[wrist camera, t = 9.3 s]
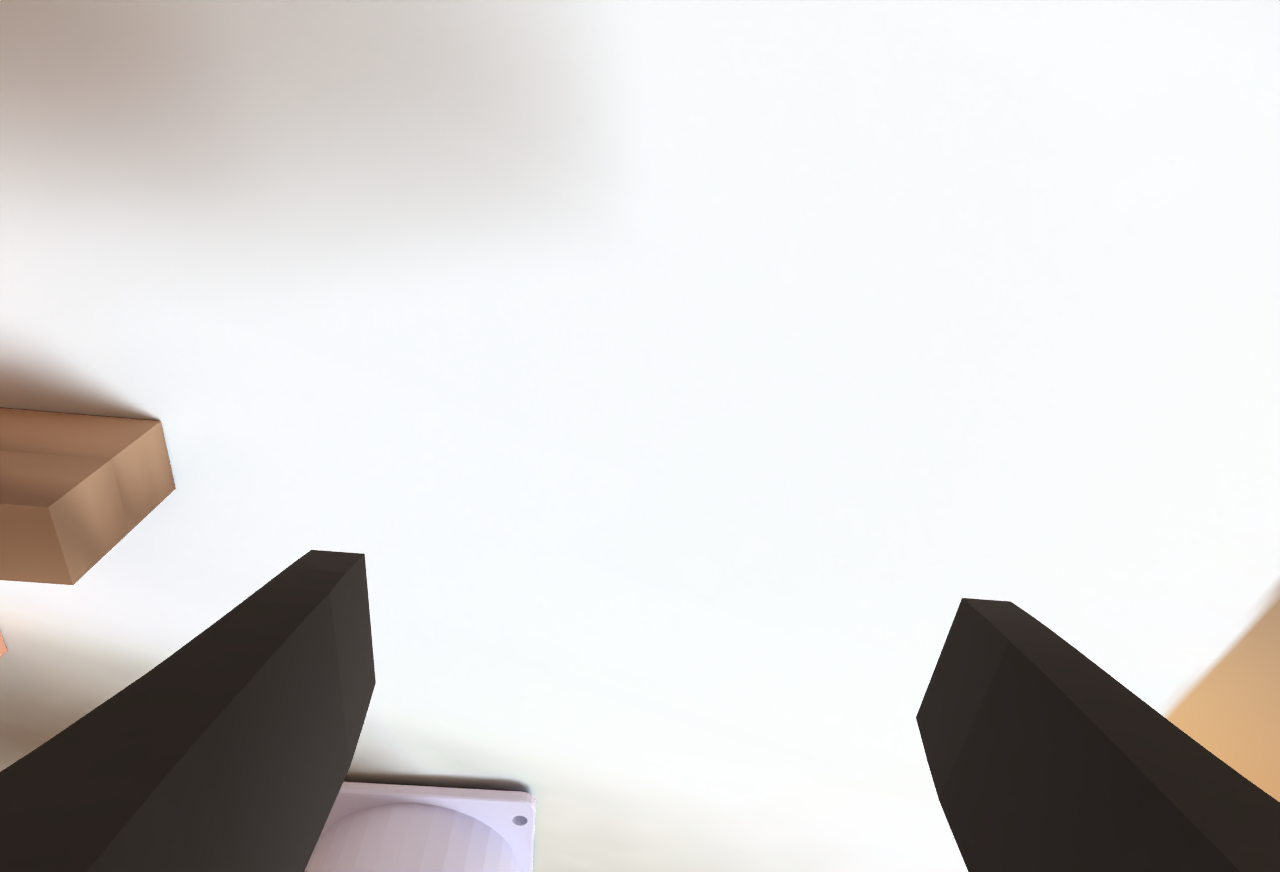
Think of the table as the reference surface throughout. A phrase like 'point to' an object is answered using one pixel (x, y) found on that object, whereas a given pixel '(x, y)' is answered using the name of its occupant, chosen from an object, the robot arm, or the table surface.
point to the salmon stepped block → (2, 646)
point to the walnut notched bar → (74, 489)
